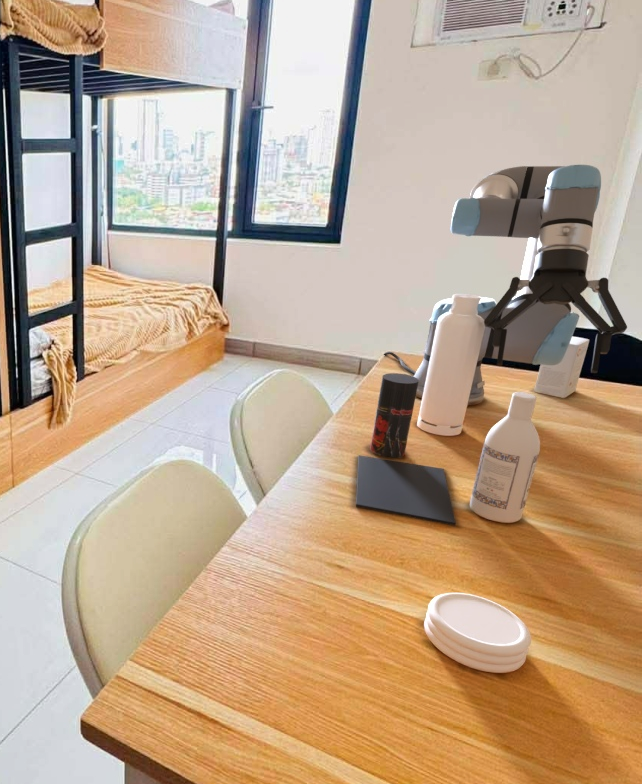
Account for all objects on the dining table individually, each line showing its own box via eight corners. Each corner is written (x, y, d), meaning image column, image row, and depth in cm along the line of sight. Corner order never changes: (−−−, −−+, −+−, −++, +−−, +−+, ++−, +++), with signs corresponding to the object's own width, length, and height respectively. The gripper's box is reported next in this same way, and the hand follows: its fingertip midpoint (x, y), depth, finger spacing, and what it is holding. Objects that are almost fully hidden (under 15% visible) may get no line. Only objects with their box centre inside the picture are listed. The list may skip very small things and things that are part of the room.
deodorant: (408, 459, 118) (423, 384, 113) (374, 457, 119) (387, 382, 114) (399, 446, 123) (412, 374, 118) (366, 444, 124) (378, 372, 119)
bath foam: (502, 501, 103) (531, 386, 96) (531, 524, 96) (565, 403, 90) (459, 501, 103) (486, 387, 96) (486, 524, 96) (517, 403, 90)
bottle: (464, 438, 126) (496, 301, 117) (419, 432, 129) (446, 298, 120) (457, 423, 134) (486, 293, 124) (414, 418, 136) (439, 290, 127)
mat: (358, 457, 119) (358, 455, 119) (443, 471, 113) (443, 468, 113) (355, 506, 102) (356, 504, 102) (455, 525, 96) (456, 523, 96)
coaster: (540, 651, 72) (548, 626, 70) (498, 689, 66) (506, 663, 65) (449, 603, 79) (455, 580, 78) (406, 634, 74) (411, 610, 73)
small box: (544, 384, 156) (558, 333, 151) (575, 391, 151) (590, 339, 146) (532, 391, 151) (546, 339, 147) (564, 398, 146) (579, 345, 142)
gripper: (479, 248, 118) (462, 358, 117) (660, 245, 103) (641, 371, 103) (480, 259, 124) (464, 364, 123) (651, 258, 109) (634, 378, 109)
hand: (545, 368), depth 113 cm, fingers open, 13 cm apart
